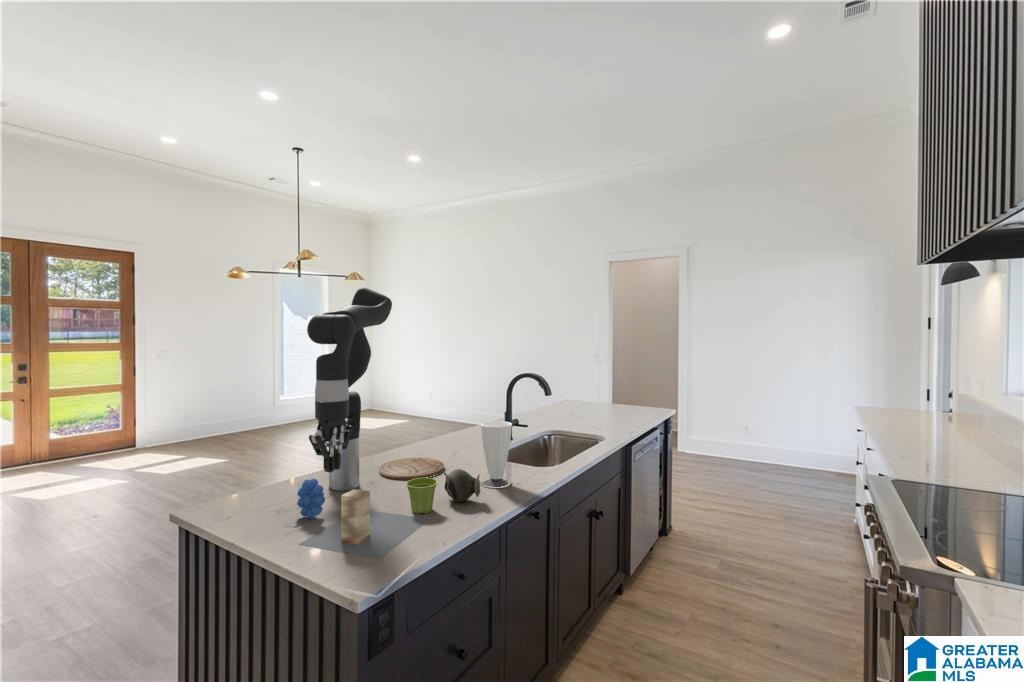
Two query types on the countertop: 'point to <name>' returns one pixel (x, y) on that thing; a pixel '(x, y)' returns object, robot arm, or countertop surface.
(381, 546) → the rubber mat
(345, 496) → the maple block
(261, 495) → the countertop surface
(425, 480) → the plant pot
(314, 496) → the grapes
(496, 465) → the cup
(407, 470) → the trivet
